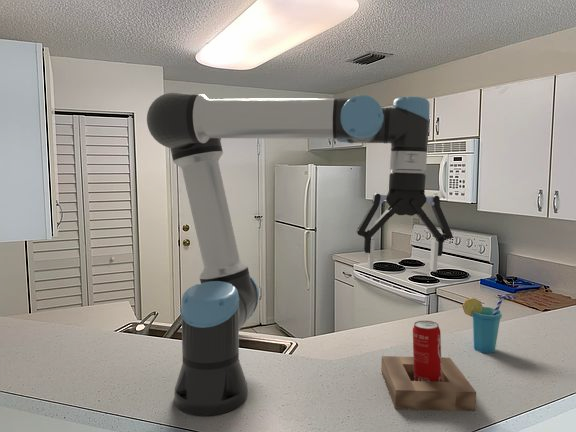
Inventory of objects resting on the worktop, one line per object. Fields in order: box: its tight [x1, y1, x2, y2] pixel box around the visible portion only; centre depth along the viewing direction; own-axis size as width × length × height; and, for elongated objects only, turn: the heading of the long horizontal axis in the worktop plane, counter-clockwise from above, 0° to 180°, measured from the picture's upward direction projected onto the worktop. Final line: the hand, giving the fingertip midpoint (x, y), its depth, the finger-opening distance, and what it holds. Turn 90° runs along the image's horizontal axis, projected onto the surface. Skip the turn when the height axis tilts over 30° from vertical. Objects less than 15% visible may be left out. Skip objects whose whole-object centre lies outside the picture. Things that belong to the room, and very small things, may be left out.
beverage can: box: [412, 320, 442, 382], centre depth 96 cm, size 6×6×15 cm
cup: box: [461, 294, 516, 354], centre depth 118 cm, size 14×8×15 cm, turn 96°
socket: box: [380, 355, 477, 412], centre depth 96 cm, size 16×16×4 cm
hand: (401, 269), depth 96 cm, fingers open, 13 cm apart
